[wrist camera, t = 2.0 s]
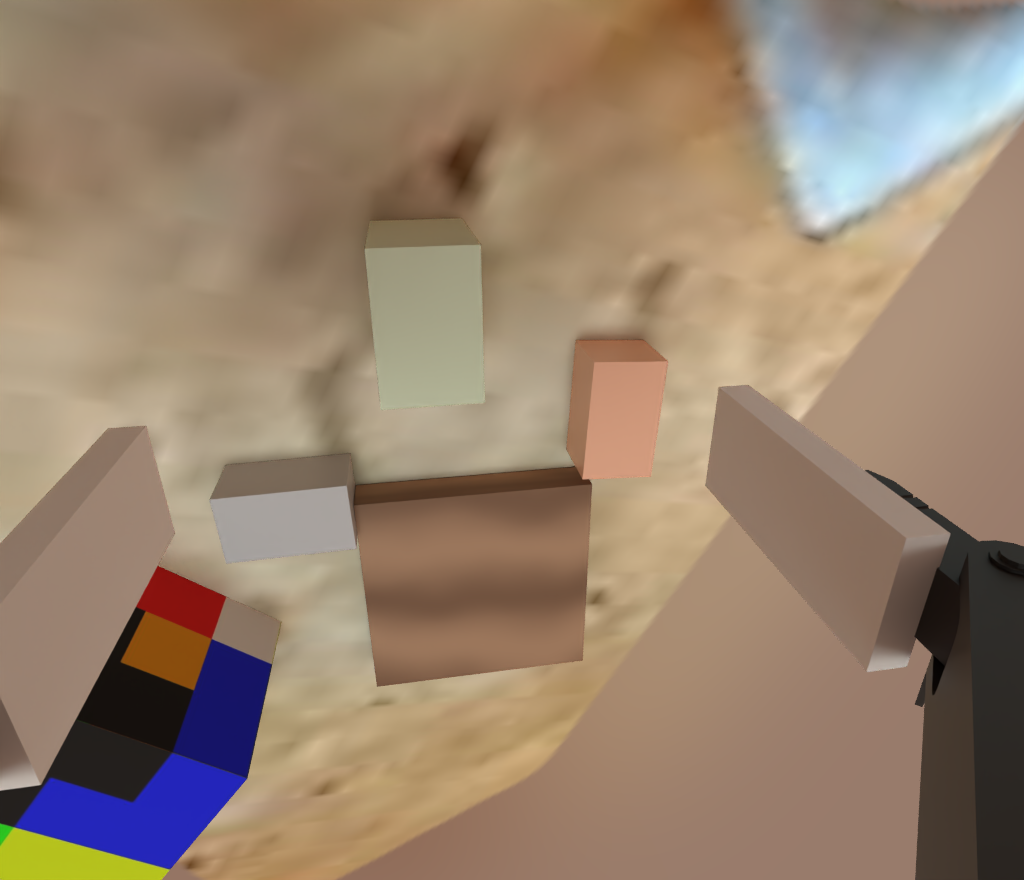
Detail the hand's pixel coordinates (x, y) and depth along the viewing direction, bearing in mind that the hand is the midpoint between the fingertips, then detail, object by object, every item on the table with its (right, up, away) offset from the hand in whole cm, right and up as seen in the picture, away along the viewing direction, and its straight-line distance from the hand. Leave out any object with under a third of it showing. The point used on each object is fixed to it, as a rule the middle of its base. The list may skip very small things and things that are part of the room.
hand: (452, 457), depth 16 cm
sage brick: (-3, +7, +15) cm, 17 cm away
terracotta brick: (+6, +3, +19) cm, 20 cm away
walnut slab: (-1, -7, +22) cm, 23 cm away
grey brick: (-10, -2, +18) cm, 21 cm away
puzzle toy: (-18, -11, +21) cm, 30 cm away
